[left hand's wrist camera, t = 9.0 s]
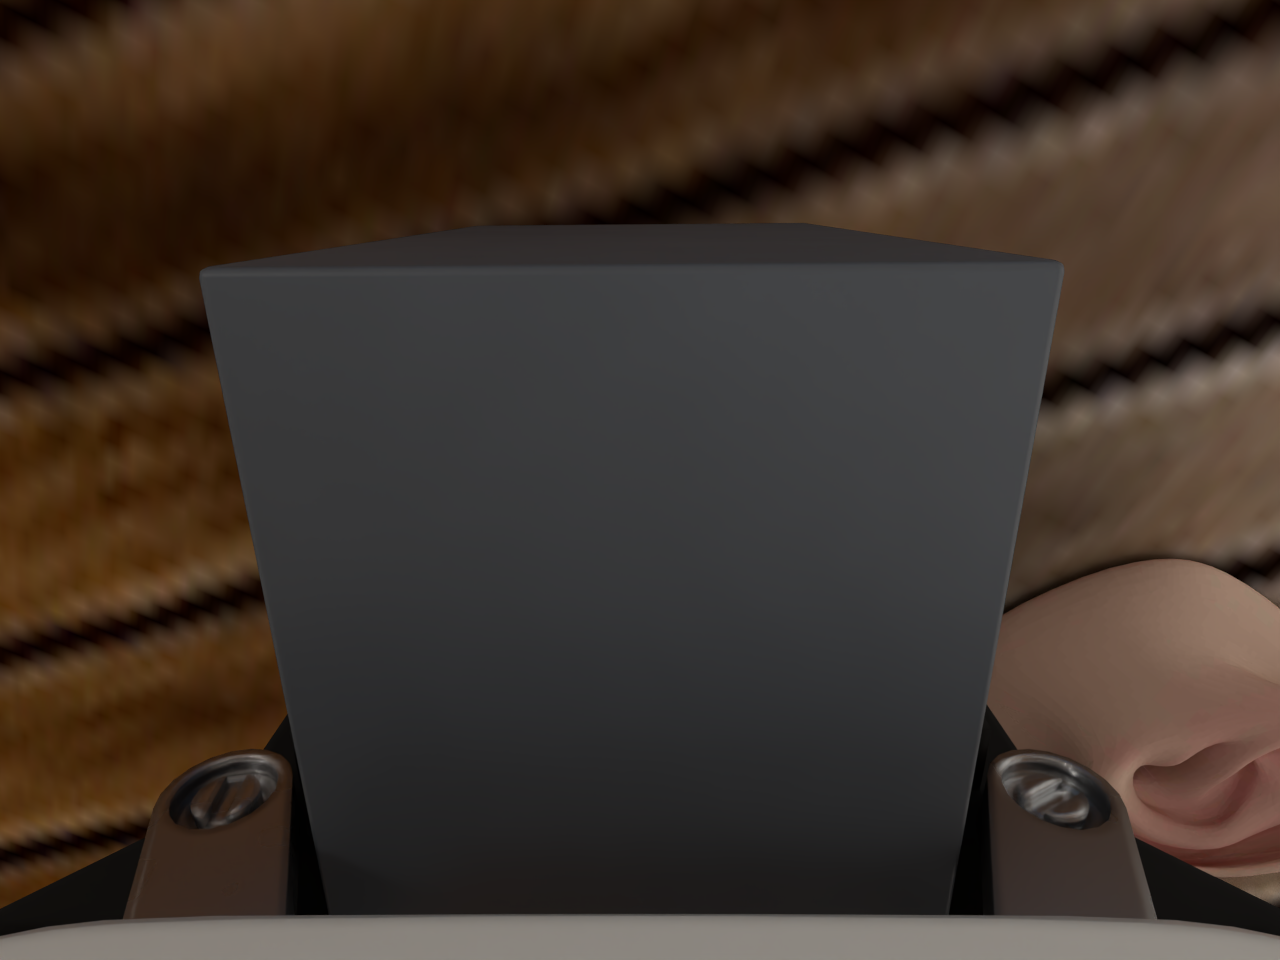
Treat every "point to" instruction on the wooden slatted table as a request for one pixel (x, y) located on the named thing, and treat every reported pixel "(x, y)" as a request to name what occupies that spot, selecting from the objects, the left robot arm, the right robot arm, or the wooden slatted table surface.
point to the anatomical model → (1157, 702)
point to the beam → (635, 556)
